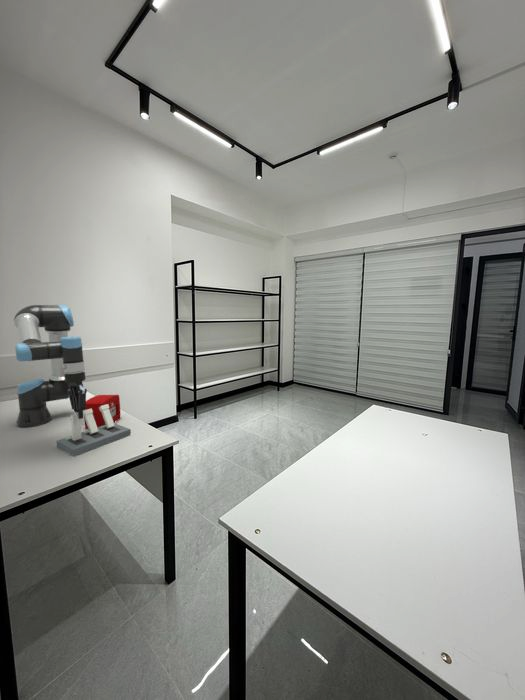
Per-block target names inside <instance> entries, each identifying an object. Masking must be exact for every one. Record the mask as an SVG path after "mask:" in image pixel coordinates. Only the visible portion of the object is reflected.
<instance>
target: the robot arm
mask: <svg viewBox="0 0 525 700" xmlns="http://www.w3.org/2000/svg"><path fill="white" fill-rule="evenodd" d="M13 323H14V326H15V327H16V328H17V332H18V336H19V343H17V344H15V346H14V347H15V357H16V360H17V361H18V362H33V361H44V360H50V369H51V375H49V376H48V380H45V379H43V378H35V379H30V380H26V381H23V382H20V383H19V384H18V385H17V393H16V394H17V396H18V407H19V408H18V409H19V412H18V415H17V419H16V427H18V426H21V427H20V428H30V427H31V428H32V427H38V426H41V425H44V424H47V423H49V422H50V421H52V414H51V412H50V410H49V409H48V405H47V403H48V402H55V401H60V400H68V399H69V402H70V406H71V410H73V412H74V414H75V417H76V426H77V427H79V426H81V427H82V426H85V422H84V416H83V410H85V409H86V401H87V391H88V389H87V388H84V384H83V382H84V381H85V380H87V379H86V372H85V361H84V350H83V343H82V338H81V336H68V335H69V334H68V333H69V332H70V331H71V328H72V327H74V318H73V314H72V310H71V309H70V307H69V306H67V305H60V304H33V305H28V306H27V305H26V306H25V307H23V308H21V309H20V310H18V311H17V312H16V314H15V315H14V317H13ZM40 328H44V331H45V332H46V333H47V334H48V341H44V342H43V341H42V338H41V332H40Z"/></svg>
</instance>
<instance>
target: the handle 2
mask: <svg viewBox="0 0 525 700" xmlns="http://www.w3.org/2000/svg"><path fill="white" fill-rule="evenodd" d="M99 409H100V411H101V412H102V415H103V418H104V421H105V424H106V426H107V429H108V428H111V427H114V426H115V425H114V423H115V422H113V419H112V416H111V414H110V411H109V405H108V404H106V405H102V406H100V407H99Z"/></svg>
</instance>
